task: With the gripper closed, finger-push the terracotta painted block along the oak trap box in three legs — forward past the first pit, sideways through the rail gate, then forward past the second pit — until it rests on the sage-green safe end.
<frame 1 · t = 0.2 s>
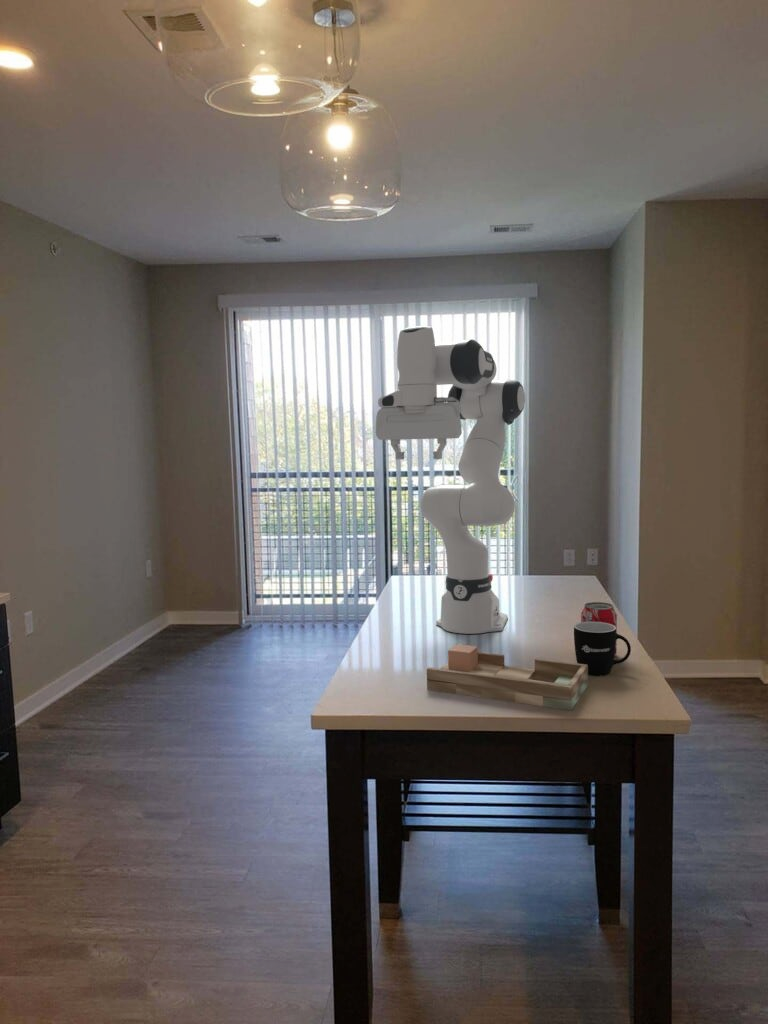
hand: (418, 459, 172), 47 cm above the table, fingers open, 8 cm apart
trap box: (507, 687, 157), on the table
mug: (601, 672, 165), on the table
block: (463, 666, 164), point 2 cm above the table, touching trap box
beverage can: (598, 656, 177), on the table
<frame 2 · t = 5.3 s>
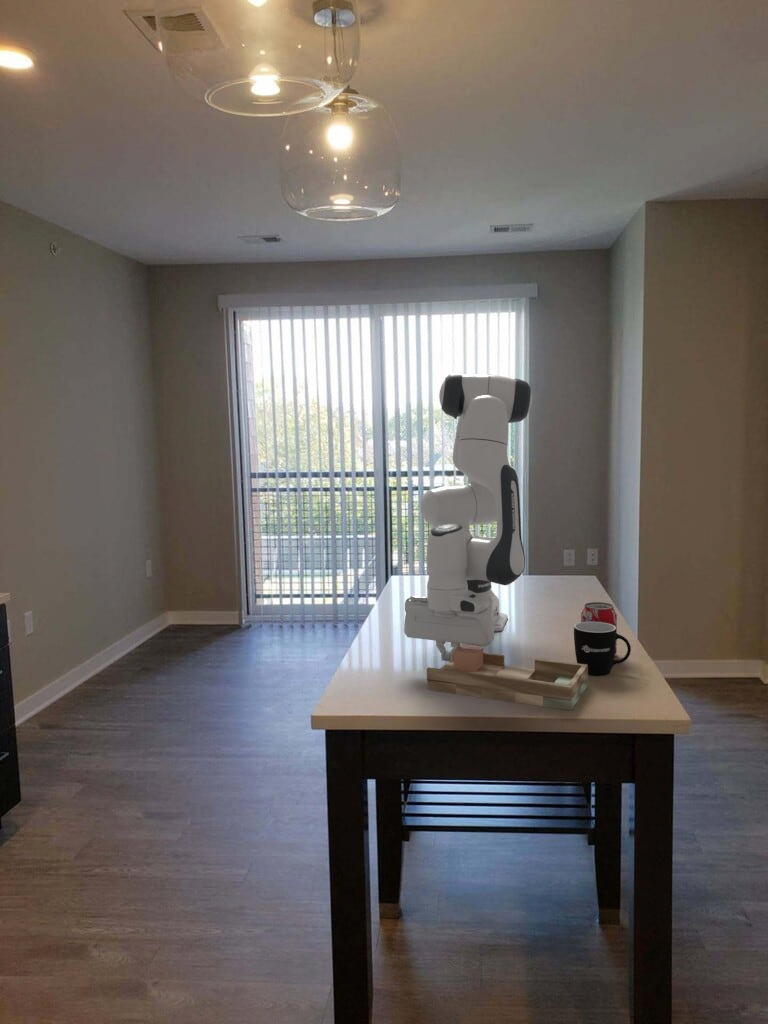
hand: (448, 660, 165), 3 cm above the table, fingers closed
block: (468, 666, 164), point 2 cm above the table, touching gripper, trap box
everything else where it was.
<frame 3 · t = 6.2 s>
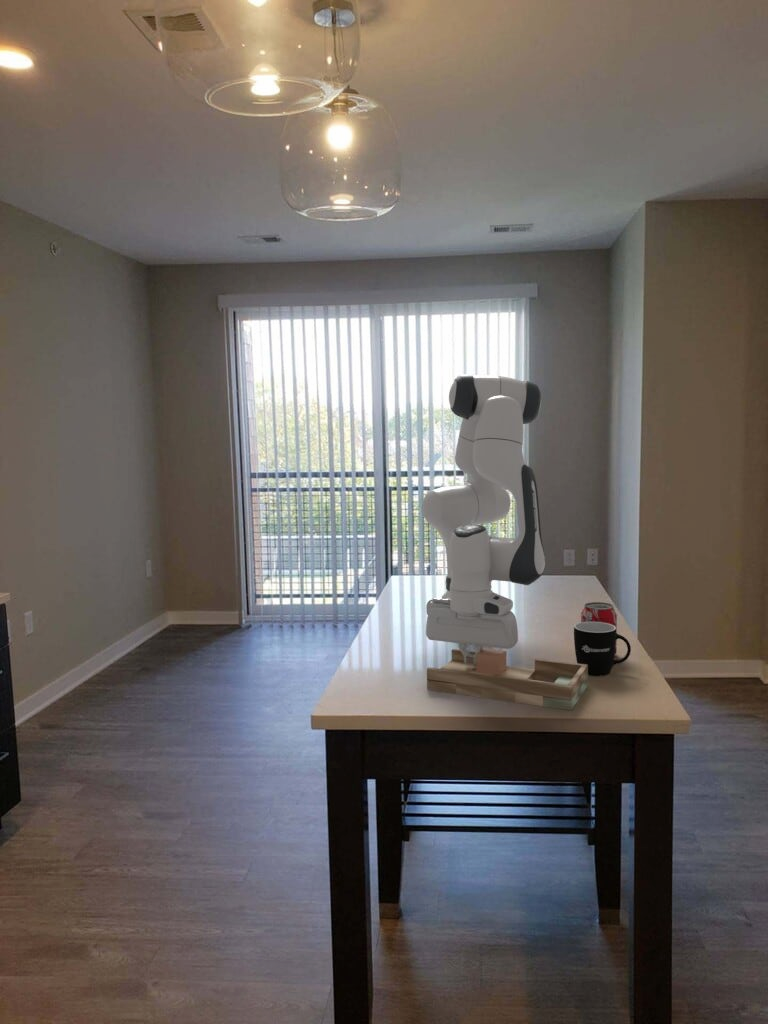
hand: (471, 663, 163), 3 cm above the table, fingers closed
block: (491, 670, 161), point 2 cm above the table, touching gripper
everything else where it was.
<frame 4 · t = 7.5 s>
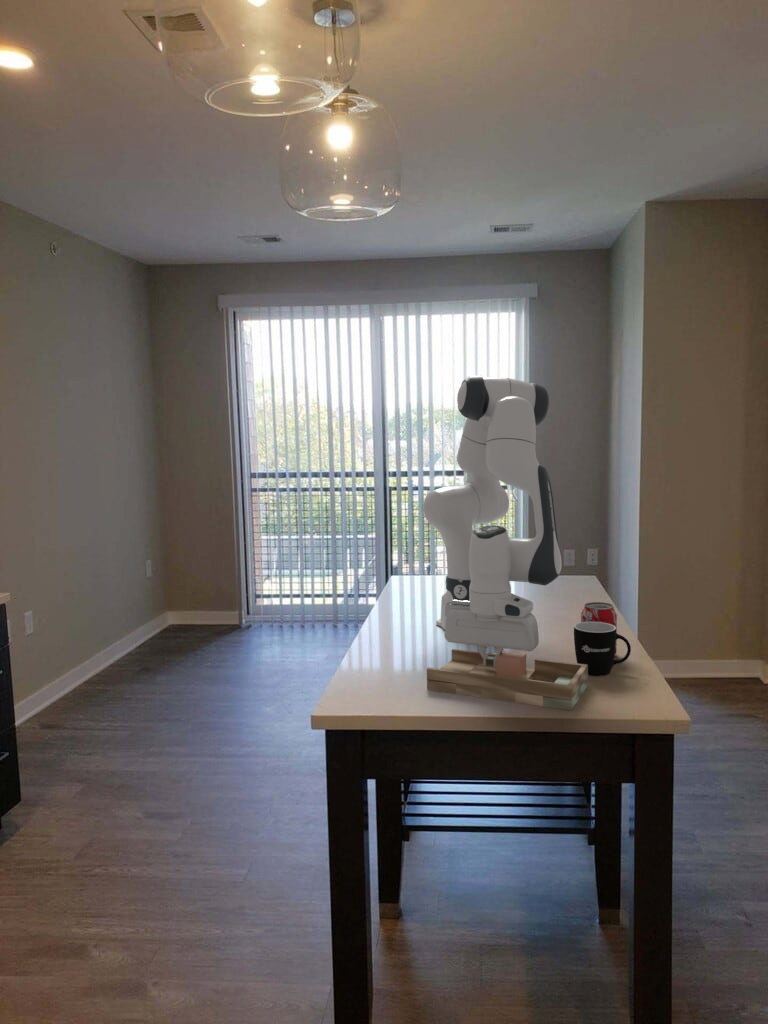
hand: (490, 665, 161), 3 cm above the table, fingers closed
block: (511, 673, 159), point 2 cm above the table, touching gripper, trap box
everything else where it was.
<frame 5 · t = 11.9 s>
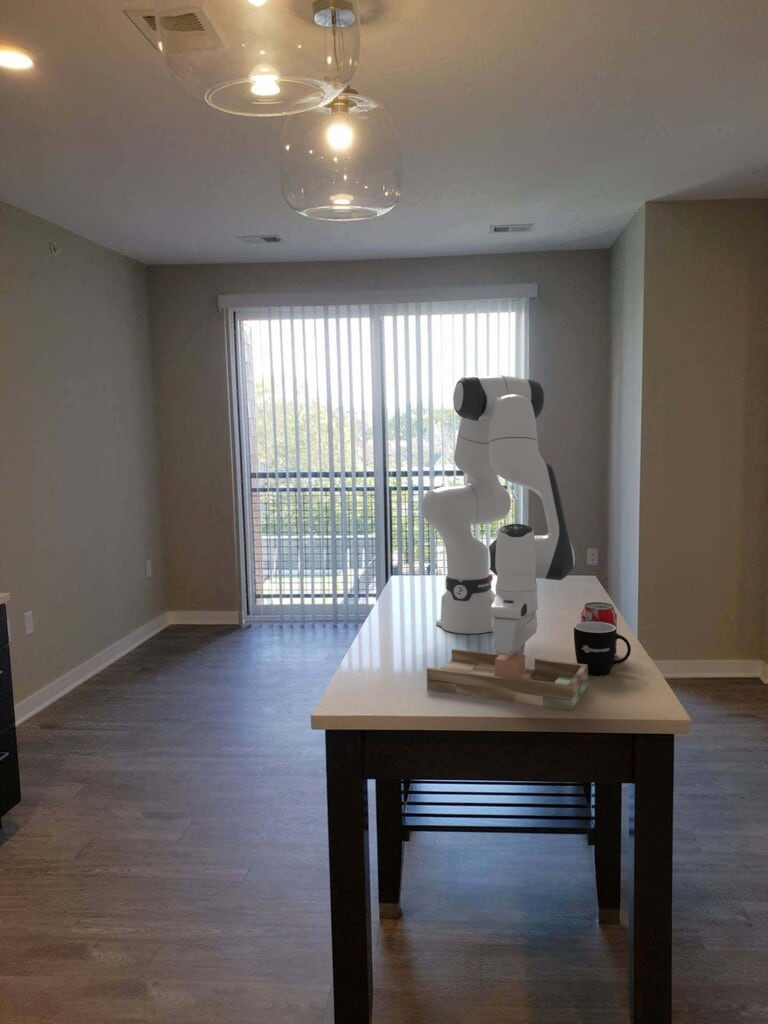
hand: (517, 663, 162), 3 cm above the table, fingers closed
block: (510, 675, 158), point 2 cm above the table, touching gripper, trap box
everything else where it was.
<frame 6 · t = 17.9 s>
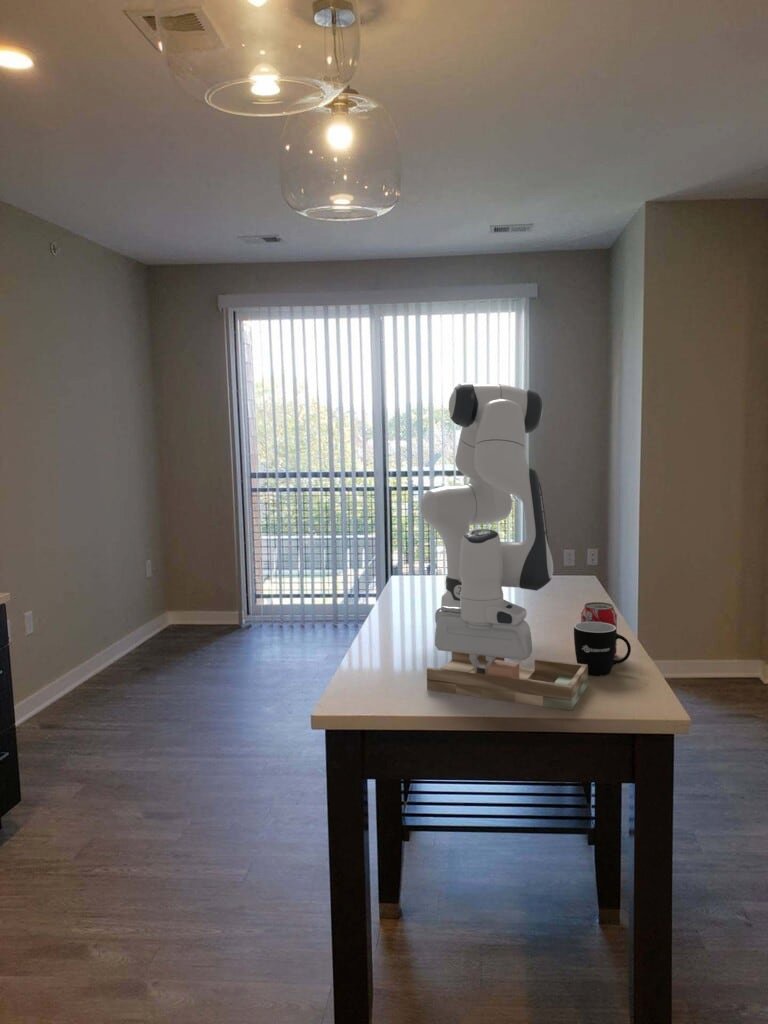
hand: (482, 675, 155), 3 cm above the table, fingers closed
block: (503, 683, 153), point 2 cm above the table, touching gripper, trap box
everything else where it was.
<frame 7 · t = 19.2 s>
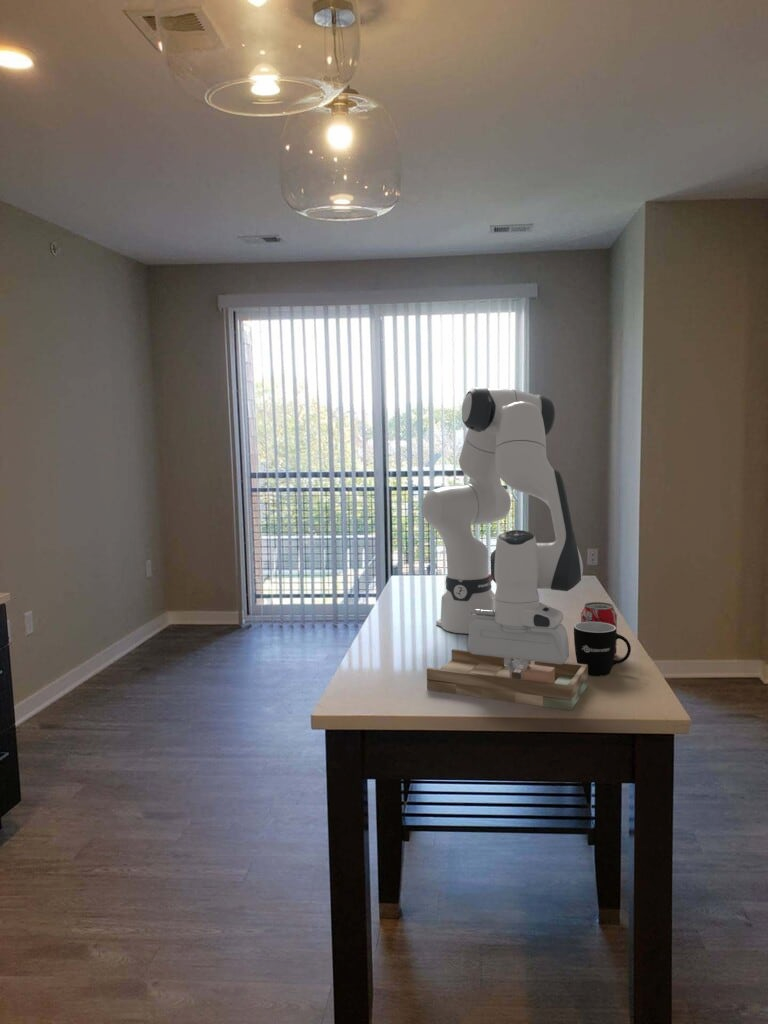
hand: (517, 679, 152), 3 cm above the table, fingers closed
block: (539, 688, 150), point 2 cm above the table, touching gripper
everything else where it was.
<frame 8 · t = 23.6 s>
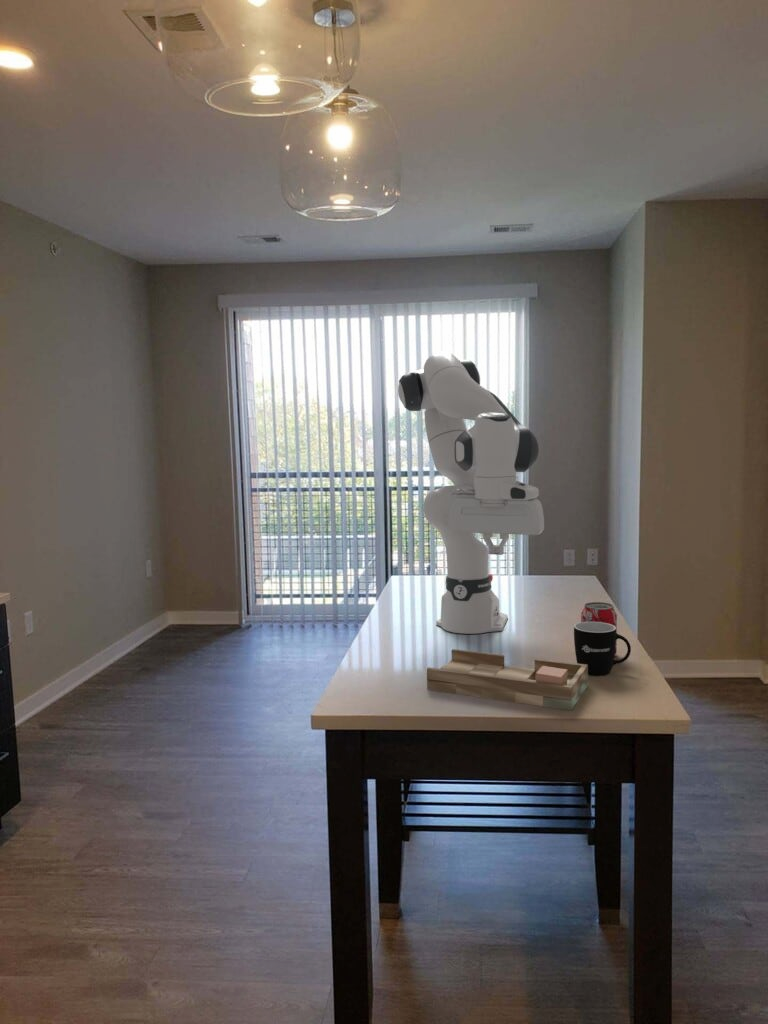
hand: (496, 554, 160), 27 cm above the table, fingers closed
block: (551, 690, 148), point 2 cm above the table, touching trap box
everything else where it was.
at the end: block inside the target area on the trap box (1.0 cm from its centre), point 2.0 cm above the trap box's base; block tilted 2° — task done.
